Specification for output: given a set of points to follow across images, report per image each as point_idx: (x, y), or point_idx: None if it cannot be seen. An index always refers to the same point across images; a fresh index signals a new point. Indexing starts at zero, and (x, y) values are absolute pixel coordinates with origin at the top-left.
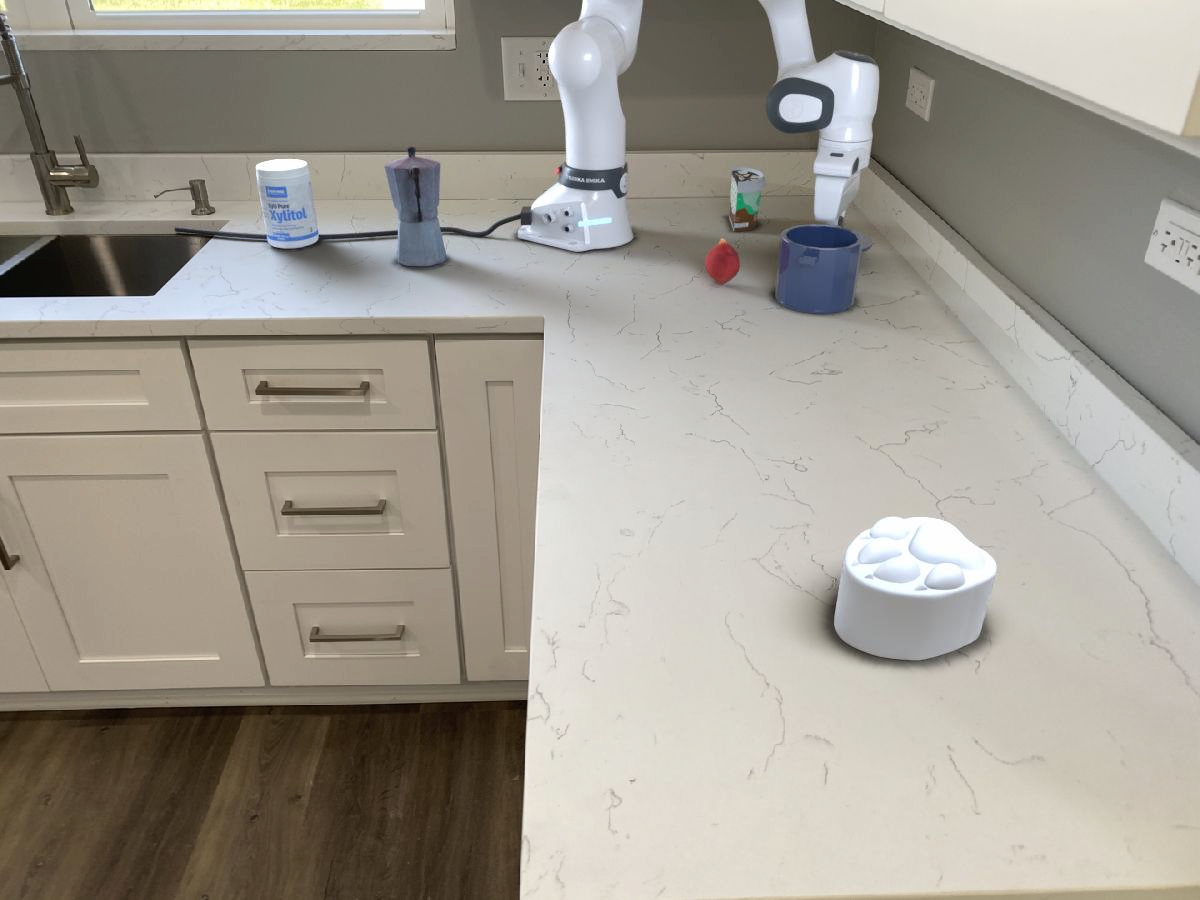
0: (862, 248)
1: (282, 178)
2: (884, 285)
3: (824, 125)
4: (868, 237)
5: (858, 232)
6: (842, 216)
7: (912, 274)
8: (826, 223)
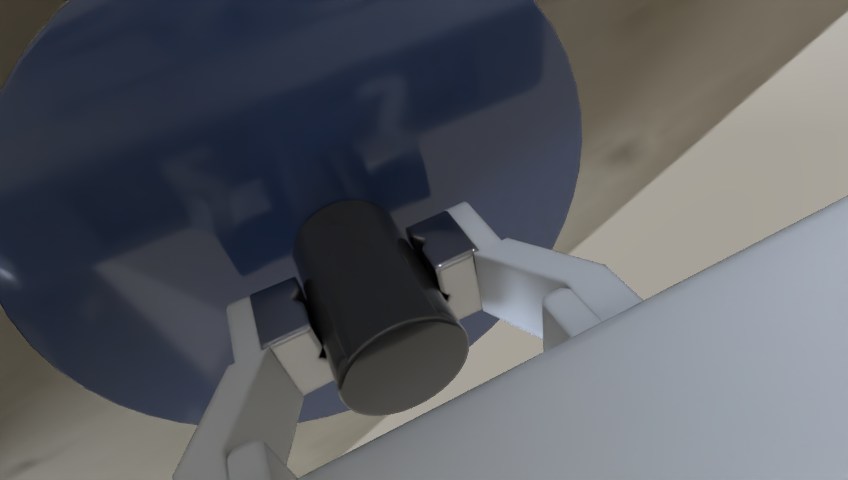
0: (305, 418)
1: None
2: None
3: None
4: (487, 323)
5: (545, 247)
6: (453, 378)
7: (377, 422)
8: (207, 414)
